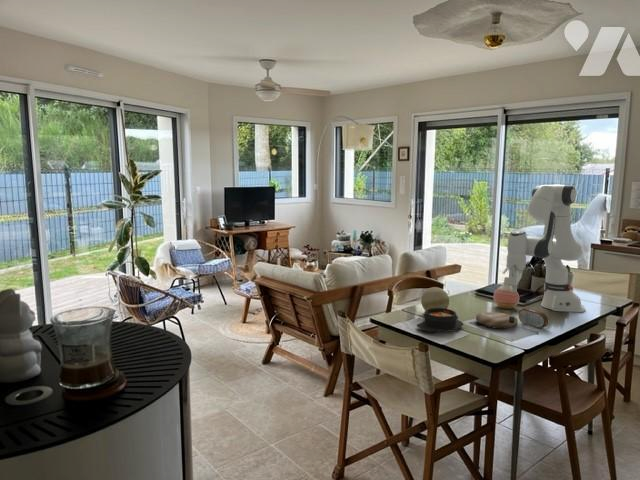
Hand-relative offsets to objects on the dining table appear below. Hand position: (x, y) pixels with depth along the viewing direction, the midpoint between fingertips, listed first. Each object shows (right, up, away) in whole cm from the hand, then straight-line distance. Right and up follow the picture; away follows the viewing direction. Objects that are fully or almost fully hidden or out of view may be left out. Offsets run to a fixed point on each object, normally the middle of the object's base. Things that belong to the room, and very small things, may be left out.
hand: (514, 290), depth 239 cm
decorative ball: (-34, -16, +24) cm, 45 cm away
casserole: (-37, -19, +2) cm, 41 cm away
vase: (+9, -14, +35) cm, 38 cm away
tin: (+11, -18, +4) cm, 22 cm away
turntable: (-6, -16, +8) cm, 19 cm away
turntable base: (-6, -18, +8) cm, 20 cm away
